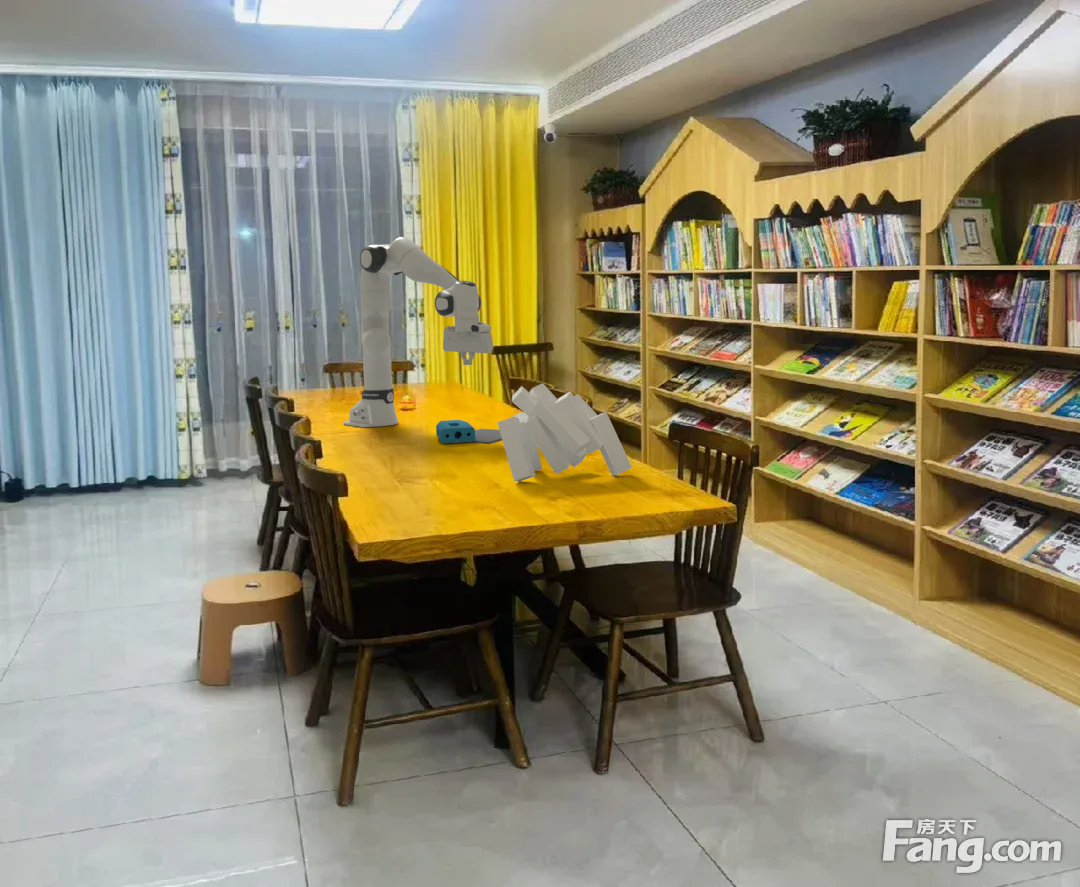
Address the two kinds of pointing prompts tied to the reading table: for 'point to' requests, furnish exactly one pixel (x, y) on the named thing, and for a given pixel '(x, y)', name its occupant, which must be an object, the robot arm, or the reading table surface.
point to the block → (455, 431)
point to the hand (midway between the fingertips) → (467, 364)
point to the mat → (487, 436)
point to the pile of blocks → (557, 434)
